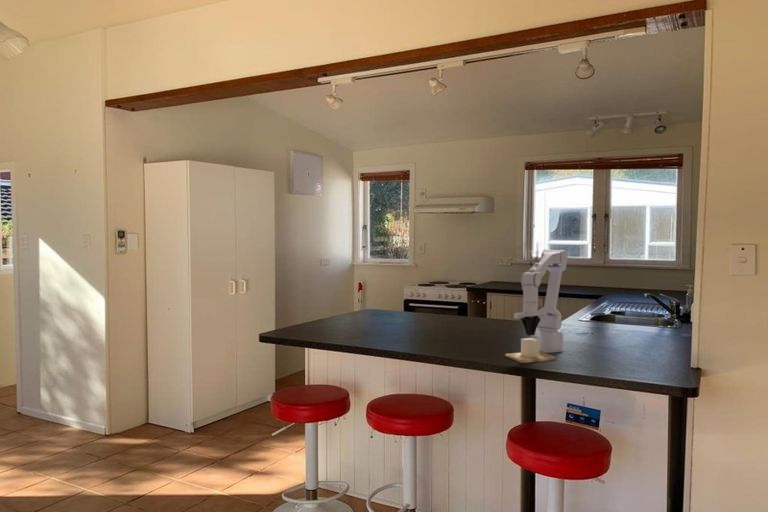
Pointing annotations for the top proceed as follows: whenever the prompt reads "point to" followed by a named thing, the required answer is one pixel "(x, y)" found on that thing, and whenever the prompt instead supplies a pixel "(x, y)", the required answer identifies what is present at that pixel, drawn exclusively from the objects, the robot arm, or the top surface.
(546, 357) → the post board
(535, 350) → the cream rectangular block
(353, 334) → the top surface
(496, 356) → the top surface
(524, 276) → the robot arm
